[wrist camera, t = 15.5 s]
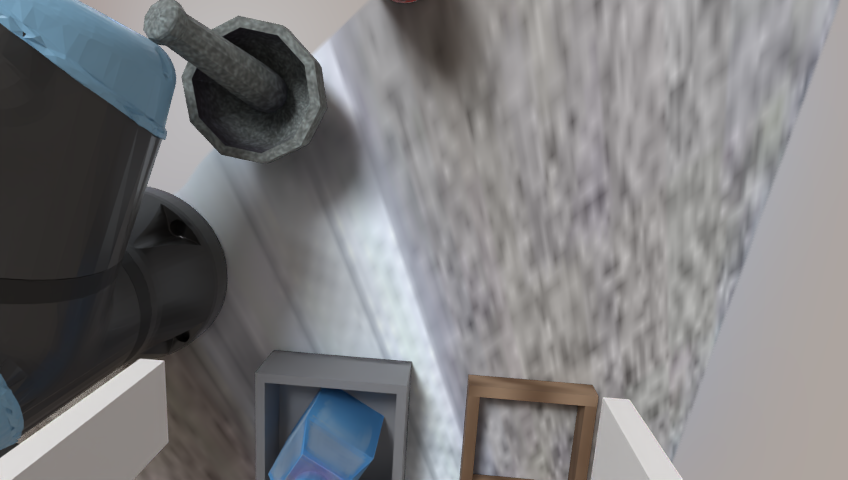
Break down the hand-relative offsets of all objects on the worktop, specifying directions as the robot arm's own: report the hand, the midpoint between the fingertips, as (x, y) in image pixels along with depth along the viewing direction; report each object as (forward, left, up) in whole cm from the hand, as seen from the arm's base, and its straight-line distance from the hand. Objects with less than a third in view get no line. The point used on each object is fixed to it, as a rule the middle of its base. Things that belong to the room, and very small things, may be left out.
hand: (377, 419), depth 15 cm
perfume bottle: (-7, -18, -28) cm, 34 cm away
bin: (-7, -18, -29) cm, 35 cm away
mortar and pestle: (-13, +11, -29) cm, 34 cm away
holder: (+10, -18, -29) cm, 35 cm away
